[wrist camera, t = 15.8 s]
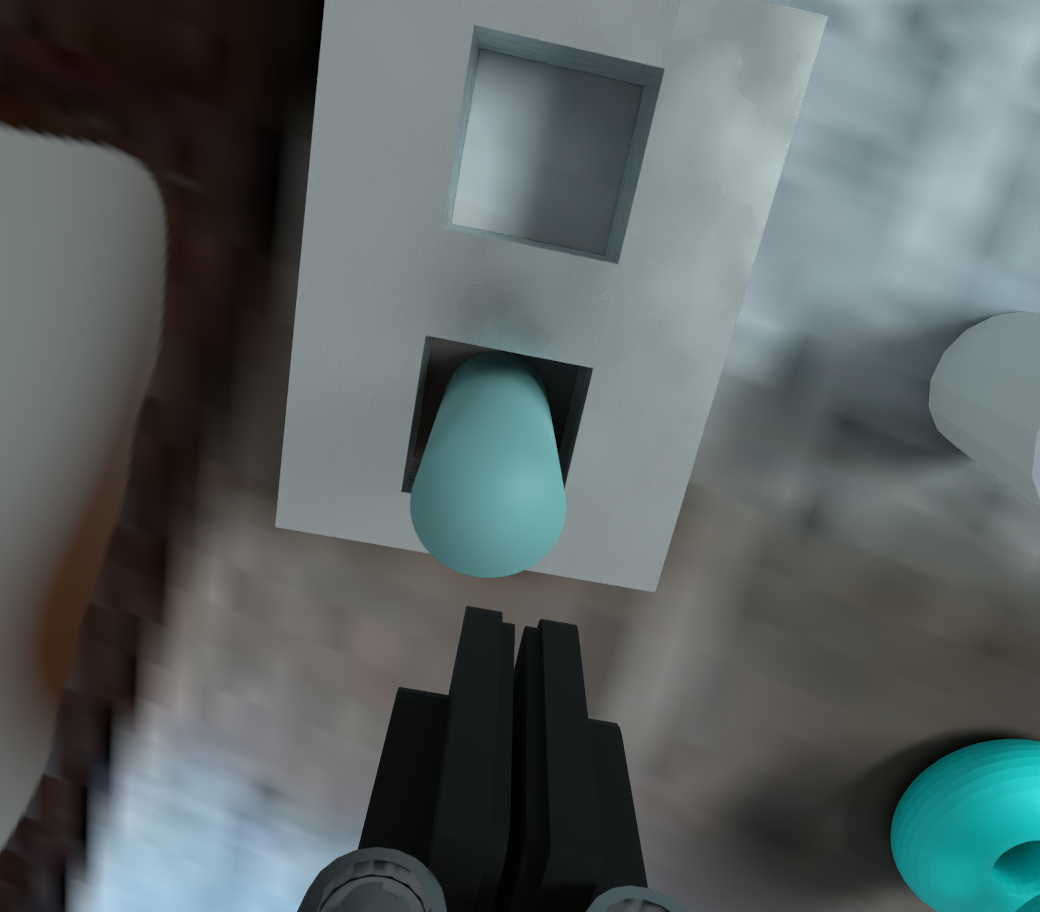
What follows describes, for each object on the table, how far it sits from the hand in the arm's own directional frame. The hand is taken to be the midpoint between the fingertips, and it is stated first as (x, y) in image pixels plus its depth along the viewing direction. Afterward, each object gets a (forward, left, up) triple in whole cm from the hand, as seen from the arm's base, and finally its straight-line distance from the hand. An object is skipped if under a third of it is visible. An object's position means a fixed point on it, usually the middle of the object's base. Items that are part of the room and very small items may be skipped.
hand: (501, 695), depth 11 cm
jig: (-4, 0, -18) cm, 18 cm away
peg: (+1, 0, -18) cm, 18 cm away
